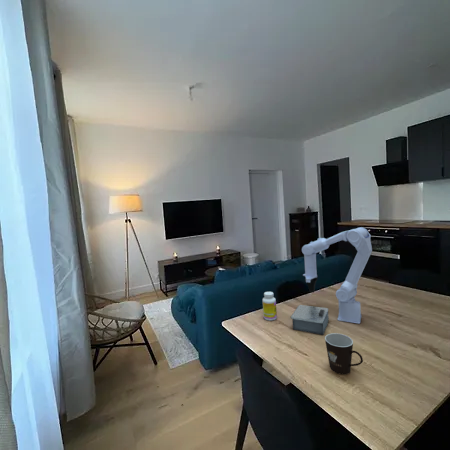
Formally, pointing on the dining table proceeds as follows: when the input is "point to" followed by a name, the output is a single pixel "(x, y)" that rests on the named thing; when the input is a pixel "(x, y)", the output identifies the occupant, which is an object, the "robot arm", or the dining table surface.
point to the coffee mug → (340, 353)
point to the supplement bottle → (269, 306)
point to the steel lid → (310, 313)
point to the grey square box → (311, 326)
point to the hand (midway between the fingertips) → (311, 291)
